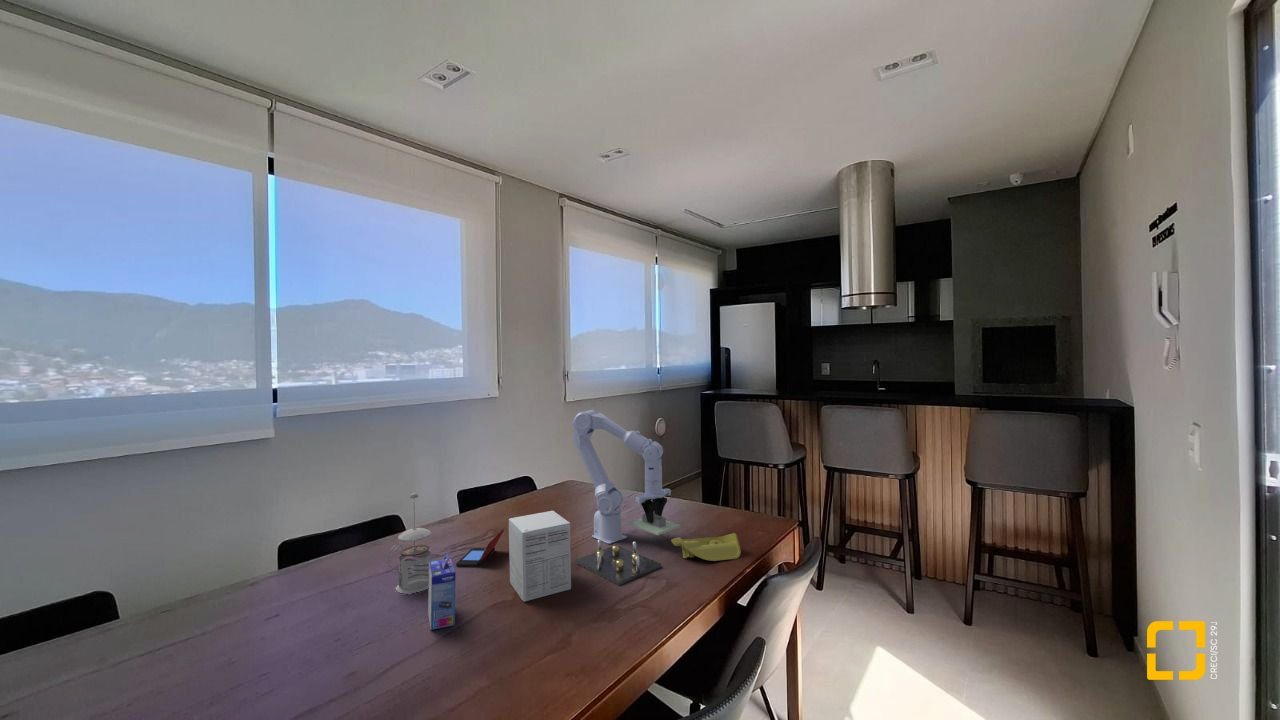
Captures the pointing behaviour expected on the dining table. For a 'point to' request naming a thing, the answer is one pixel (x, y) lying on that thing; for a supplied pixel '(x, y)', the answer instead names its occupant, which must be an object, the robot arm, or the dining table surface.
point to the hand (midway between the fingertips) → (653, 521)
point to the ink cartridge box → (441, 593)
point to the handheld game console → (478, 554)
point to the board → (650, 528)
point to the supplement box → (539, 555)
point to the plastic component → (710, 547)
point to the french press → (413, 560)
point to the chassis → (618, 563)
